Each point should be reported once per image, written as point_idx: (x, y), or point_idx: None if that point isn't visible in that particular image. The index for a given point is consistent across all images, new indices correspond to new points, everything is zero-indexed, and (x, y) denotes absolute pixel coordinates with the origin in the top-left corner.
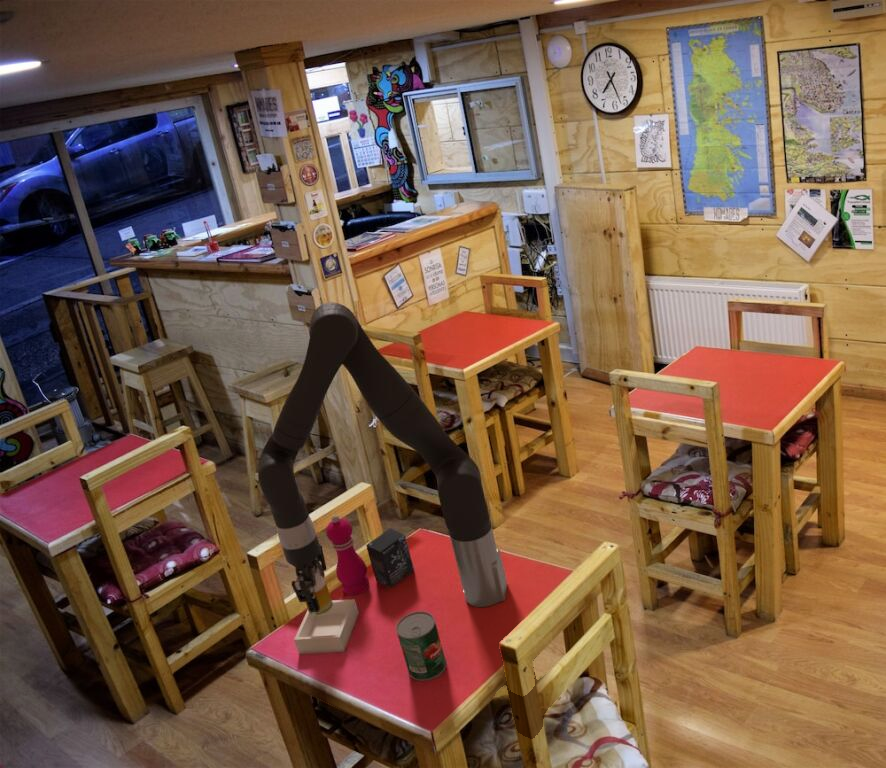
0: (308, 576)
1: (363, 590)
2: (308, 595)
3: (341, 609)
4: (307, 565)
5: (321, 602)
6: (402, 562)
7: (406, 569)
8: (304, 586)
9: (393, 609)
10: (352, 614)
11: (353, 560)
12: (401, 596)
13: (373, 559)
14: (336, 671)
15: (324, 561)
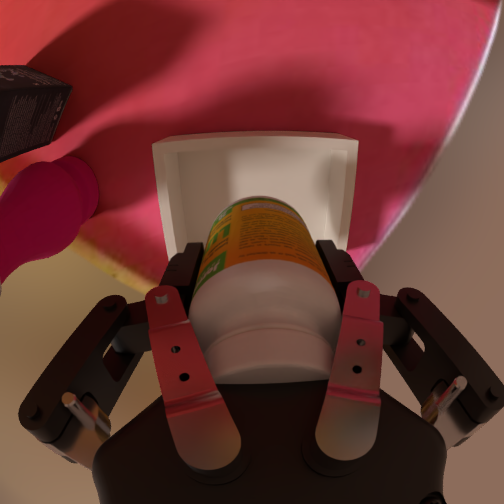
0: (399, 409)
1: (82, 161)
2: (442, 319)
3: (176, 187)
4: (379, 494)
5: (311, 241)
6: (9, 70)
7: (24, 69)
8: (486, 374)
9: (157, 37)
10: (209, 135)
11: (14, 204)
12: (105, 41)
13: (2, 143)
14: (402, 143)
15: (83, 329)
